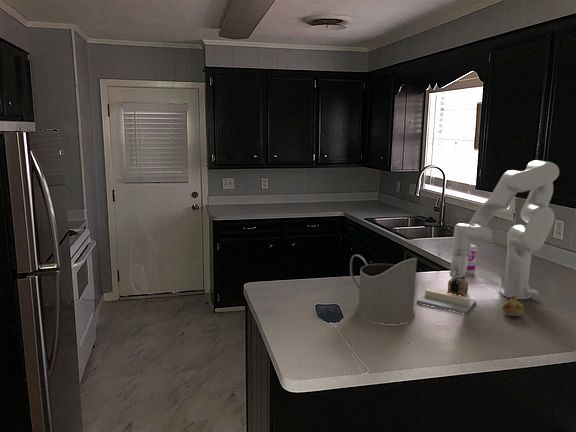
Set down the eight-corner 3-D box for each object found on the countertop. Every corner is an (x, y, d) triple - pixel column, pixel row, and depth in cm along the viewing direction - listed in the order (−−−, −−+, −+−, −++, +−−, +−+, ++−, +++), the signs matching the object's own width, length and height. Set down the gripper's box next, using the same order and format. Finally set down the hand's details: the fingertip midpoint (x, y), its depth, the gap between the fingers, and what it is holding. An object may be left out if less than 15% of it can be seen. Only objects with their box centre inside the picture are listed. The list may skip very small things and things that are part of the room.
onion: (496, 313, 190) (498, 294, 188) (512, 311, 193) (514, 292, 191) (511, 320, 183) (514, 301, 181) (527, 318, 186) (529, 298, 184)
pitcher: (388, 331, 172) (392, 264, 167) (329, 304, 196) (331, 245, 191) (427, 316, 186) (432, 254, 181) (367, 293, 210) (370, 238, 205)
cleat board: (475, 303, 200) (476, 294, 200) (465, 315, 188) (466, 305, 187) (429, 293, 212) (430, 284, 211) (416, 303, 199) (417, 294, 198)
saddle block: (467, 292, 213) (468, 280, 212) (463, 296, 208) (464, 283, 207) (451, 289, 217) (452, 277, 216) (447, 293, 212) (448, 280, 211)
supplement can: (477, 276, 237) (480, 247, 234) (460, 276, 237) (463, 246, 234) (471, 271, 245) (474, 243, 242) (455, 271, 245) (457, 242, 242)
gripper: (458, 246, 218) (454, 282, 221) (446, 254, 204) (442, 292, 207) (475, 249, 214) (471, 285, 217) (464, 257, 200) (460, 296, 203)
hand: (457, 288), depth 212 cm, fingers open, 9 cm apart
